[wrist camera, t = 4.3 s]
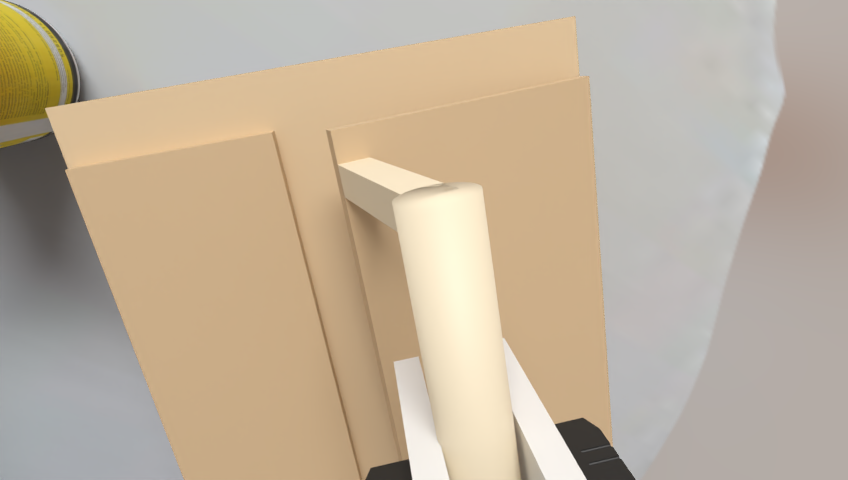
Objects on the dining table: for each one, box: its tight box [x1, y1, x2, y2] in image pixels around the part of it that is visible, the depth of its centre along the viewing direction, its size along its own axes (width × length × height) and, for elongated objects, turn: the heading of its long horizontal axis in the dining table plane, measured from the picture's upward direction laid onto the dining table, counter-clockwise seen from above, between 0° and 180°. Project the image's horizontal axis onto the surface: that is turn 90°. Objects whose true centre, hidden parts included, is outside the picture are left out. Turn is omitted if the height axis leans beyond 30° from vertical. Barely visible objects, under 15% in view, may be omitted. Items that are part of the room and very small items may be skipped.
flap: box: [326, 76, 613, 480], centre depth 17 cm, size 10×16×8 cm, turn 10°
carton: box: [45, 16, 579, 480], centre depth 26 cm, size 18×20×11 cm
